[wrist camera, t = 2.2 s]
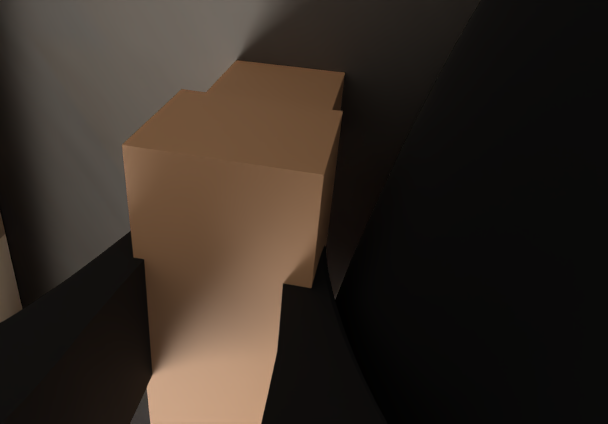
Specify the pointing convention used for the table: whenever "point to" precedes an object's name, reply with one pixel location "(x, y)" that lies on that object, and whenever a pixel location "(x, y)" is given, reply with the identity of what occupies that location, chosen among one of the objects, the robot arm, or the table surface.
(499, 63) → the black cylindrical speaker
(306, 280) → the clip
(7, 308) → the rail
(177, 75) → the table surface
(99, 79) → the table surface
